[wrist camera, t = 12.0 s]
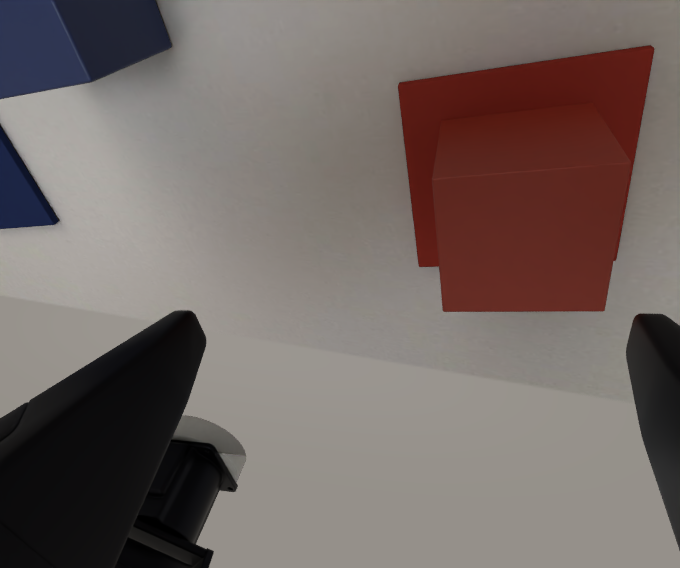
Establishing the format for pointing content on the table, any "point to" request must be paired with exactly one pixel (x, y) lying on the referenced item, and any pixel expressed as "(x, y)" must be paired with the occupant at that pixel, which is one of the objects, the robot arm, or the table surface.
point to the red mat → (517, 95)
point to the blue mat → (20, 192)
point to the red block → (528, 210)
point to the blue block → (74, 41)
